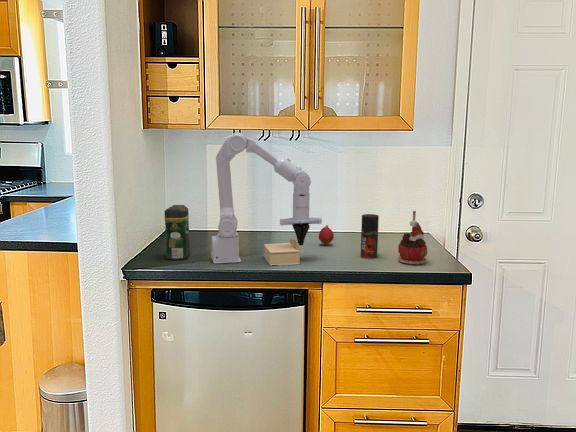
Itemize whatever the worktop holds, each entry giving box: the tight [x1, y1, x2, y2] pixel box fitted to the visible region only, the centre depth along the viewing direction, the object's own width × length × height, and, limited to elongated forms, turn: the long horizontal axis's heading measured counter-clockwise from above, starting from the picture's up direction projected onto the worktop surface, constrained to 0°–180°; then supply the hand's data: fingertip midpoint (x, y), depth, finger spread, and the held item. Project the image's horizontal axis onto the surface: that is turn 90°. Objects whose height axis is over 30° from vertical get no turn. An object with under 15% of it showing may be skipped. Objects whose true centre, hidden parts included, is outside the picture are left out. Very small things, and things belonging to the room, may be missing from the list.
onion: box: [318, 224, 335, 246], centre depth 215 cm, size 6×6×8 cm
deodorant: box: [360, 213, 380, 260], centre depth 197 cm, size 6×6×15 cm
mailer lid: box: [263, 237, 301, 254], centre depth 192 cm, size 10×12×2 cm
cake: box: [397, 210, 428, 265], centre depth 190 cm, size 11×9×18 cm
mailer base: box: [263, 245, 301, 267], centre depth 192 cm, size 10×12×4 cm
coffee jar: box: [164, 204, 191, 261], centre depth 195 cm, size 10×8×19 cm
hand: (300, 244), depth 193 cm, fingers closed
